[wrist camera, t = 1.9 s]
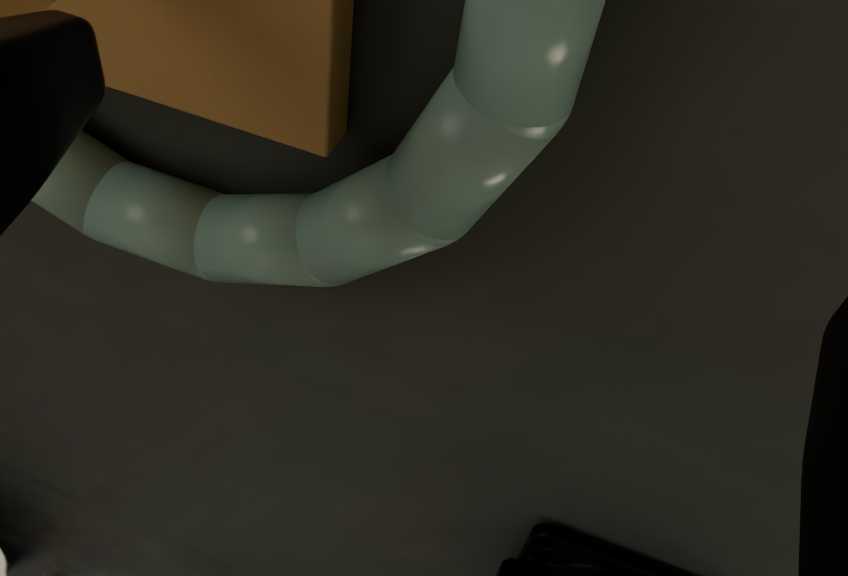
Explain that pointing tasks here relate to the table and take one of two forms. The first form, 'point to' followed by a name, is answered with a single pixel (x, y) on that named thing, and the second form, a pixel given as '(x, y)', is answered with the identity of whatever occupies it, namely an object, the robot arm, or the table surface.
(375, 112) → the table surface
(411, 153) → the hoop
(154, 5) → the stand
